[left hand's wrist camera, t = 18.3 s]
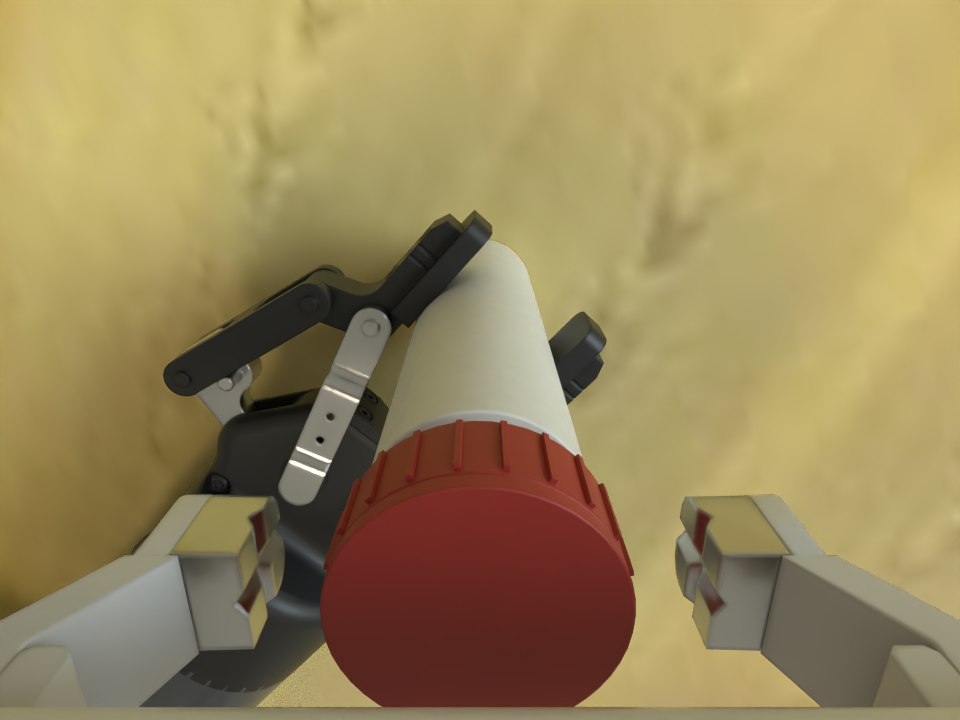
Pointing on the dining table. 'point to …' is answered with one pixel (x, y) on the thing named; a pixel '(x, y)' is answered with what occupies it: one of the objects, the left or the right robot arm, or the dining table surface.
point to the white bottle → (481, 357)
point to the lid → (478, 574)
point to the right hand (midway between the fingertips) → (538, 276)
